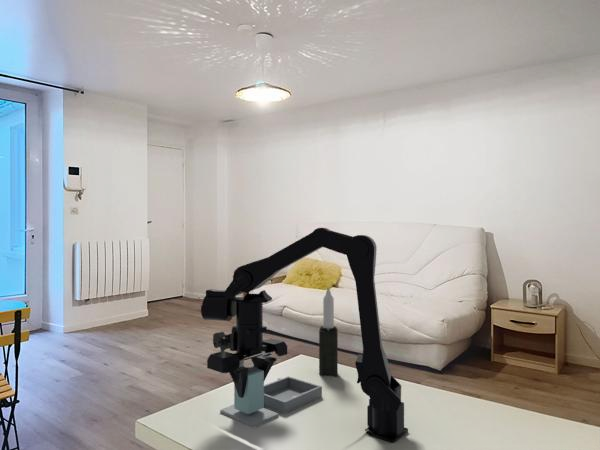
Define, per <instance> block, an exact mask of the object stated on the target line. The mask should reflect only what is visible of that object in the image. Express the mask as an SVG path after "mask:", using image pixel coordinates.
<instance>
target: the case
mask: <svg viewBox="0 0 600 450" xmlns="http://www.w3.org/2000/svg"><path fill="white" fill-rule="evenodd" d="M322 391H323V386H321V385H318V384H315V383H311V382H308V381H305V380H302V379H299V378H295V377H293V376H286V377H283V378H282V377H278V378H277V380H274V381H272V382H269V383H267V384H264V407H267V408H269V409H271V410H274V411H277V412H278V413H279V412H280V413H281V414H287V413H290V412H292V411H294V410H297V409H298V408H301V407H302V406H305V405H307V404H309V403H312V402H314V401H315V400H318V399H320V398H322V397H323V392H322ZM303 392H304V393H303ZM301 393H302V394H301ZM299 394H300V395H299ZM296 395H297V396H296ZM294 396H295V397H294ZM292 397H293V398H292ZM289 398H290V399H289ZM287 399H288V400H287ZM285 400H286V401H285Z"/></svg>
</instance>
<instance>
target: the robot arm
mask: <svg viewBox="0 0 600 450" xmlns="http://www.w3.org/2000/svg"><path fill="white" fill-rule="evenodd" d="M323 248H325V249H327V250H330V251H332V252H337V253H339V254H342V255H345V256H346V257H347V261H348V265H349V267H350V270H351V273H352V275H353V279H354V281H355V288H356V298H357V306H358V308H357V309H358V315H359V317H358V318H359V325H360V333H361V341H362V353H361V354H358V355H357V357H356V359H355V369H356V372H357V380H356V384H359V383H360V388H361V391H362V392H363V393H364V394H365V395H366V396H368V397H369V399H368V405H367V407H366V408H367V416H366V417H367V419H366V420H367V423H366V425H367V428H365V429H364V431H365V434H368V435H371V436H373V437H376V438H379V439H382V440H385V441H387V442H390V443H394V442H396V441H398V440H399V439H401V437H403V436H404V435H406V434H407V433H409V428H407V427H405V402H403V401H402V384H400V383H399V381H398V380H397V379H396V378H395V377H394V376H393V375H392V372H391V366H390V364H389V361H388V357H387V354H386V352H385V349H384V347H383V341H382V334H381V325H380V317H379V308H378V301H377V300H378V299H377V293H376V282H375V274H376V273H375V272H376V265H377V244H376V241H375V240H374V239H373V238H372V237H370V236H369V235H366V234H365V235H364V234H357V235H354V236H353V235H348V234H344V233H341V232H338V231H334V230H330V228H327V227H317V228H315V229H314V230H313V231H312V232H310V233H309V234H307V235H305V236H303V237H301V238H299V239H297V240H296V241H294V242H292V243H291V244H288V245H287V246H286V247H284V248H282V249H280V250H278V251H277V252H275V253H272V254H271V255H270V256H268V257H265V258H262V259H258V260H255V261H252V262H249V263H247V264H243V265H240V266H238V267H237V268H236V269H234V271H233V275H232V281H231V282H230V284H229V285H228V286H227V288H226V289H224V290H219V289H215V288H209V289H206V291H205V296H204V297H203V300H202V303H201V306H200V313H201V317H202V319H203V320H204V321H217V322H218V321H222V322H223V321H224V322H230V321H232V319H233V318H234V317H236V321H235V322H236V323H235V324H236V325H234V326H232V327H231V333H228V334H227V333H225V332H224V331H220V332H214V333H213V335H212V344H213V348H215V349H218V348H220V351H218V352H213V353H211V354H209V356H208V357H207V359H206V361H207V362H206V368H207V369H209V370H212V371H215V372H219V373H221V374H228V373H229V374H230V377H231V379H232V382H233V385H235V387H236V390H237V393H238V396H239V397H240V398H243V396H244V393H245V387H246V381H247V375H248V368H247V367H244V366H245V361H247V360H250V359H251V362H252V364H253V366H255V367H257V369H260V370H263V371H264V382H265V381H266V378H267V377H268V374H269V372H270V371H271V369H272V367H273V365H274V363H275V362H277V358H276V357H273V353H275V355H276V356H277V357H280V358H281V357H283V356H286V355H288V345H287V343H286V342H285V341H283V340H280V339H274V338H268V339H264V338H263V336H264V335H263V334H264V333H265V332H267V326H264V324H263V322H264V321H263V317H264V316H263V315H264V314H263V312H264V311H263V309H264V307H263V305H264V303H265V304H266V303H269V302H271V301H272V300H273V298H272V297H271V296H270V295H269V294H268V293H267V291H266V290H265V289H264V290H261V291H260V292H259V293H249V292H252V291H254V290H259V289H260V288H262V287H263V286H264V285H265V284H267V283H268V282H269V281H270V280H271V279H273V278H274V277H275V276H276V275H277V274H278V273H279V272H280V271H283V270H284V269H285V268H288V267H289V266H291V265H293V264H295V263H296V262H299V261H300V260H302V259H304V258H306V257H307V256H309V255H311V254H313V253H314V252H316V251H318V250H320V249H323ZM241 294H245V295H244V297H243V296H240V297H239V295H241ZM263 339H264V340H263ZM226 350H229V351H231V352H228V351H226ZM233 352H235V353H233Z"/></svg>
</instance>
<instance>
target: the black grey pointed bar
mask: <svg viewBox="0 0 600 450" xmlns="http://www.w3.org/2000/svg"><path fill="white" fill-rule="evenodd" d="M330 288H331V287H330V286H329V285H327V287H326V291H325V295H324V296H323V298H322V299H323V301H322V305H323V306H322V307H323V310H322V311H323V312H322V313H323V315H322V316H323V319H322V322H323V324H322V325H321V326H320V328H319V330H318V335H319V336H318V338H319V339H318V341H319V342H318V345H319V347H318V349H319V350H318V354H319V355H318V371H319V373H318V375H319V376H321V377H322V376H323V377H325V376H331V377H334V378H338V377H339V376H338V365H339V364H338V362H339V361H338V359H339V356H338V350H339V346H338V337H339V336H338V335H339V334H338V328H337V327H338V326H335V325H334V324H335V323H334V322H335V321H334V319H335V318H334V316H335V313H334V311H335V309H334V306H335V305H334V303H335V302H334V301H335V300H334V297H333V295H332V293H331V289H330Z"/></svg>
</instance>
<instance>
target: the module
mask: <svg viewBox="0 0 600 450" xmlns="http://www.w3.org/2000/svg"><path fill="white" fill-rule="evenodd" d="M244 367H247V368H248V375H247V381H246V387H245V393H244V396H243V398H240V397H239V396H238V393H237V390H236V387H235V385H234V384H233V385H234V387H233V388H234V389H233V390H234V391H233V392H234V394H233V395H234V396H233V397H234V398H233V399H234V400H233V401H234V404H233V405H234V409H237V410H239V411H242V412H244V413H247V414H250V413H252V412H255V411H257V410H259V409H262V408H265V406H264V385H265V381H264V371H263V370H260V369H257V367H255V366H254V365H251V364H247V365H244Z"/></svg>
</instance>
